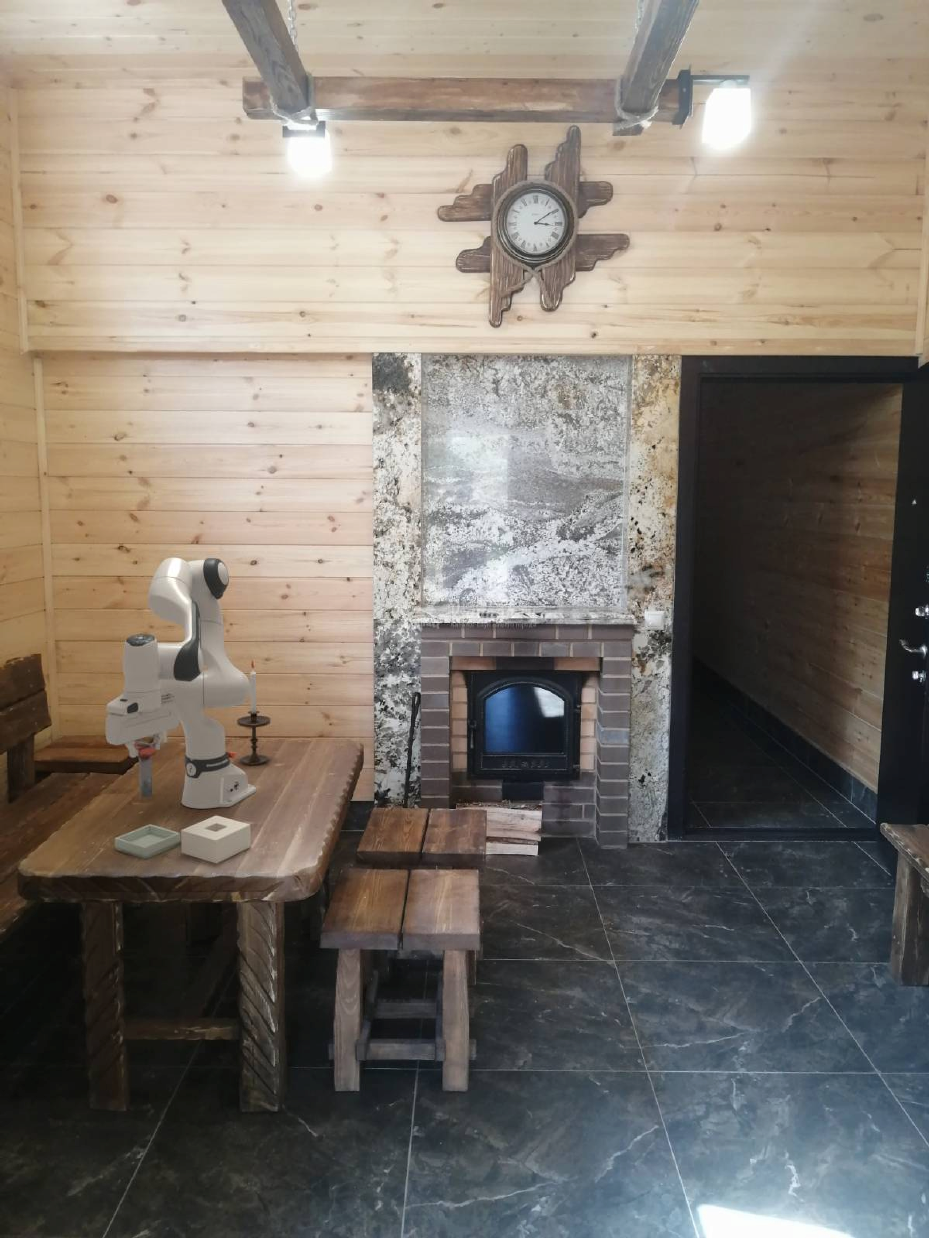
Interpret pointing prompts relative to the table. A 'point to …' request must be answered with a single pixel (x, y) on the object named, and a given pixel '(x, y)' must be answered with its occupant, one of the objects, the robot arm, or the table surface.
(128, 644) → the robot arm
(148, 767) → the red disc rod
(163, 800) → the table surface
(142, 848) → the tray
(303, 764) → the table surface
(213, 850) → the block
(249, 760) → the candlestick
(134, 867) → the table surface
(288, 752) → the table surface
